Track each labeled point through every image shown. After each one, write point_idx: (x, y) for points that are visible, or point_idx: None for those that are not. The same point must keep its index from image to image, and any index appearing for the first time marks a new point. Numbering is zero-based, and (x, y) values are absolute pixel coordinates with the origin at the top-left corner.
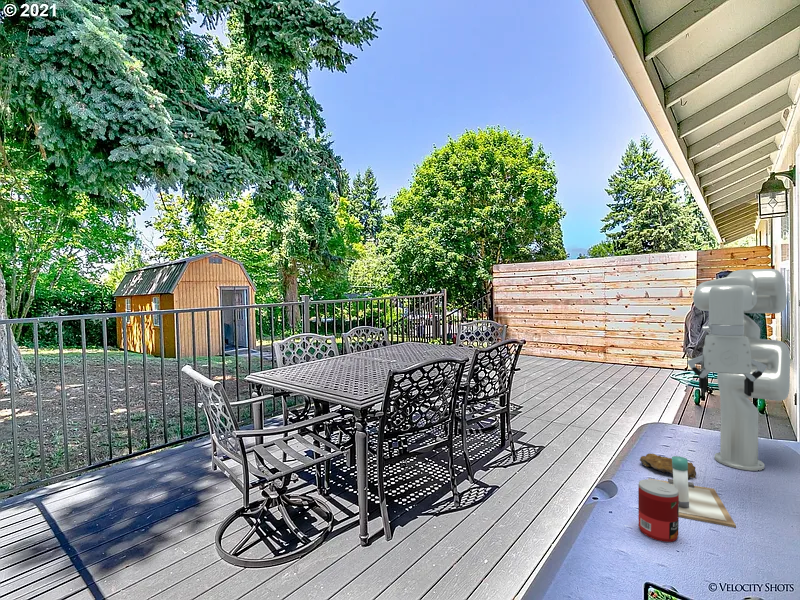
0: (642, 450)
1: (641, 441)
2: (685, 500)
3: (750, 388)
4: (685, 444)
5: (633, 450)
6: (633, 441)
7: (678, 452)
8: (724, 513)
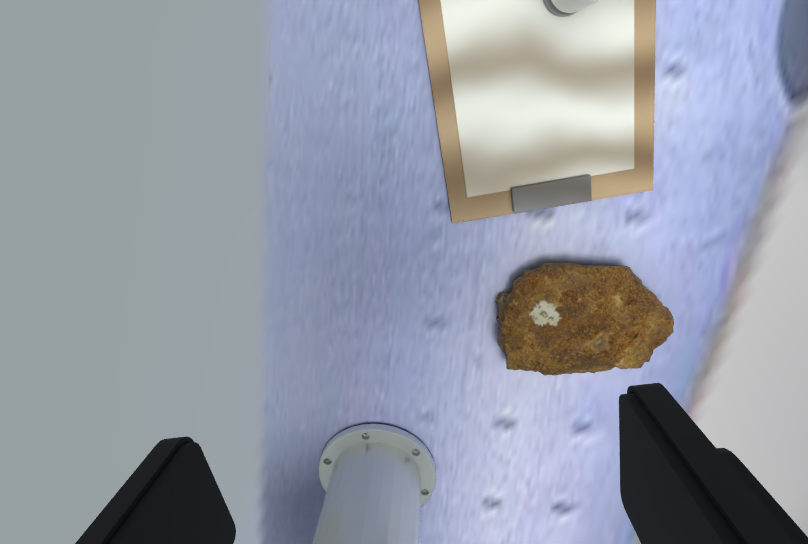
0: None
1: None
2: None
3: (106, 516)
4: (504, 540)
5: None
6: None
7: (529, 473)
8: (436, 23)
